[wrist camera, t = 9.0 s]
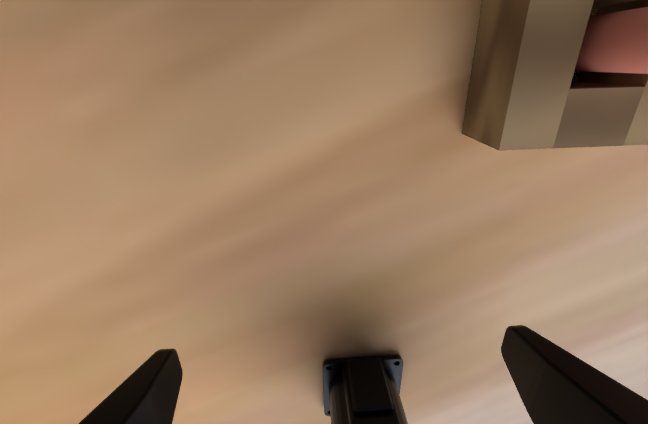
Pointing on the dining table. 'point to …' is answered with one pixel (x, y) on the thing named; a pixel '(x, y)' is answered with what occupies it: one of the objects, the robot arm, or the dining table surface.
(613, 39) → the reddish pink rod
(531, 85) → the brown square holed block
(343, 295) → the dining table surface
